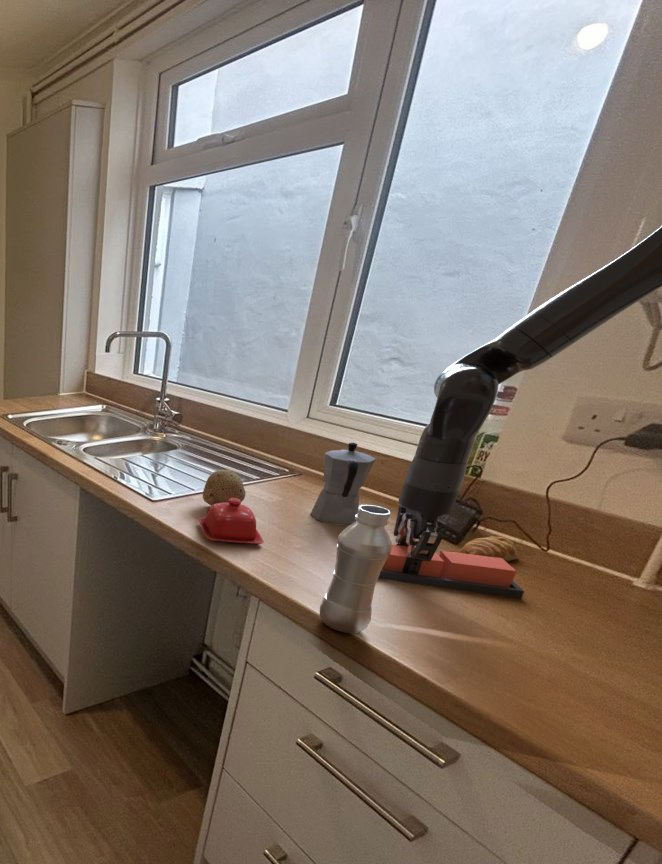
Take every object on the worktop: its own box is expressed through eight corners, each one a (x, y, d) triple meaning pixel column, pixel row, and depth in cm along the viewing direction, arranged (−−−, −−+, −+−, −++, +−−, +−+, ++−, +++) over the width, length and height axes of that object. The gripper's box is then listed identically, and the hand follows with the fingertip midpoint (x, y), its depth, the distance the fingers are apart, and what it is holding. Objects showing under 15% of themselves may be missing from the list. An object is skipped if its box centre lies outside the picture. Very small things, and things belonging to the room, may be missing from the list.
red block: (494, 577, 95) (502, 558, 93) (508, 591, 91) (517, 571, 89) (433, 569, 98) (440, 550, 96) (444, 582, 94) (452, 562, 92)
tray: (492, 575, 97) (496, 565, 96) (519, 602, 89) (524, 591, 88) (356, 556, 104) (358, 547, 103) (369, 580, 96) (372, 569, 95)
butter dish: (265, 549, 107) (273, 510, 104) (205, 545, 109) (212, 507, 106) (249, 526, 118) (256, 490, 115) (195, 522, 120) (201, 487, 117)
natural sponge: (249, 510, 126) (256, 471, 122) (229, 520, 121) (236, 479, 117) (214, 499, 133) (220, 462, 129) (193, 508, 128) (199, 469, 124)
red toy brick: (426, 568, 98) (433, 549, 97) (437, 581, 94) (444, 561, 92) (370, 560, 101) (376, 542, 100) (378, 572, 97) (384, 553, 95)
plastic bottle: (371, 642, 79) (411, 521, 71) (320, 633, 81) (353, 514, 73) (360, 619, 84) (395, 504, 77) (312, 611, 87) (342, 498, 79)
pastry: (486, 569, 99) (493, 551, 97) (447, 554, 105) (453, 536, 103) (519, 561, 102) (526, 543, 100) (479, 546, 108) (485, 529, 106)
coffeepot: (308, 505, 129) (326, 433, 122) (354, 511, 125) (374, 438, 118) (311, 528, 116) (331, 450, 109) (362, 536, 112) (386, 456, 105)
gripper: (478, 500, 83) (443, 592, 90) (442, 472, 96) (414, 555, 102) (421, 494, 86) (391, 584, 92) (393, 468, 98) (369, 549, 105)
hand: (403, 568), depth 97 cm, fingers closed on red toy brick, 5 cm apart
